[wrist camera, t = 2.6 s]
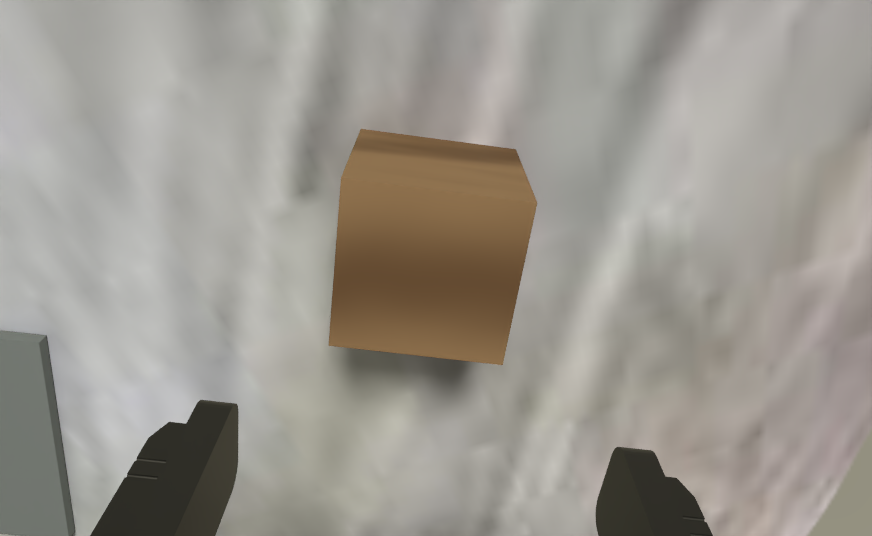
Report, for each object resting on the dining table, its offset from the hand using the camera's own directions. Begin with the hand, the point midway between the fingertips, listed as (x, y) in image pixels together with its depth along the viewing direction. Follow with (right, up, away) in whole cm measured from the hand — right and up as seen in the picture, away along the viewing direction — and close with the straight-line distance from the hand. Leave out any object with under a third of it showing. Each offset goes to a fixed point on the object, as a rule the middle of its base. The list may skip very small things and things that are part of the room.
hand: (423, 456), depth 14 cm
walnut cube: (0, +6, +13) cm, 14 cm away
